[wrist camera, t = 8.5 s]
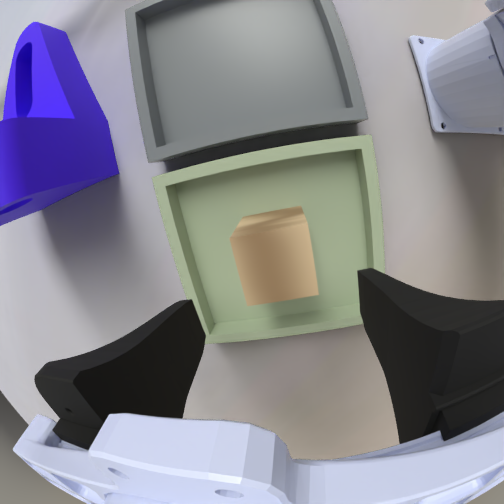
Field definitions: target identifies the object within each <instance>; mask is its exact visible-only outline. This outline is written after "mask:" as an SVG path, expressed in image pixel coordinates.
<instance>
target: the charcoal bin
mask: <svg viewBox="0 0 504 504" xmlns="http://www.w3.org/2000/svg"><path fill="white" fill-rule="evenodd" d="M125 15H126V27H127V38H128V47H129V56H130V63H131V71H132V78H133V85H134V91H135V97H136V103H137V109H138V114H139V120H140V125H141V130H142V135H143V140H144V145H145V150H146V154H147V159H148V163H153V162H162V161H166V160H170V159H173V158H176V157H180V156H183V155H187V154H190V153H194V152H198V151H201V150H205V149H209V148H213V147H217V146H221V145H225V144H230V143H234V142H238V141H243V140H248V139H252V138H257V137H262V136H267V135H273V134H278V133H284V132H290V131H296V130H303V129H310V128H317V127H324V126H333V125H342V124H351V123H359V122H361V121H364V120H367V119H368V116H367V111H366V107H365V102H364V98H363V94H362V90H361V86H360V82H359V78H358V75H357V71H356V68H355V64H354V61H353V58H352V54H351V51H350V48H349V45H348V42H347V39H346V36H345V33H344V30H343V28H342V25H341V22H340V20H339V17H338V14H337V12H336V9H335V7H334V4H333V2H332V0H145V1H143V2H141V3H139V4H137V5H134V6H132V7H130V8H128V9H126V10H125Z"/></svg>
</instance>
